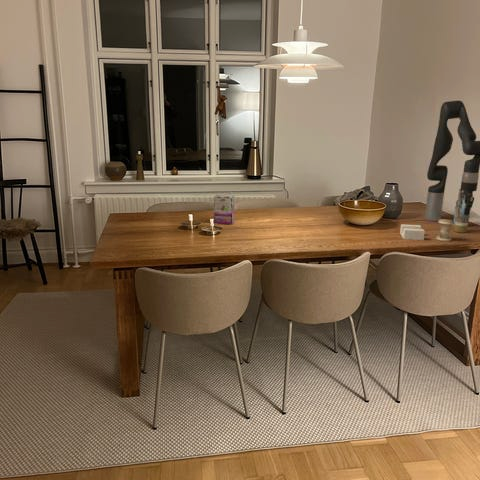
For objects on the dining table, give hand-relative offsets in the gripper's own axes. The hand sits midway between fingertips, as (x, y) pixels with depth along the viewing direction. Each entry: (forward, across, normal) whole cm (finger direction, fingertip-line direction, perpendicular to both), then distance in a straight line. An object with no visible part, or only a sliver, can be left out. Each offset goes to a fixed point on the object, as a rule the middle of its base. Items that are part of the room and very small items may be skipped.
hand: (464, 214), depth 243 cm
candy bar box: (+15, -16, -129) cm, 131 cm away
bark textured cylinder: (+14, -34, +9) cm, 38 cm away
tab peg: (+2, 0, 0) cm, 2 cm away
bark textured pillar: (+15, -20, +5) cm, 25 cm away
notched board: (+15, -5, -24) cm, 29 cm away
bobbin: (+15, -2, -8) cm, 17 cm away
